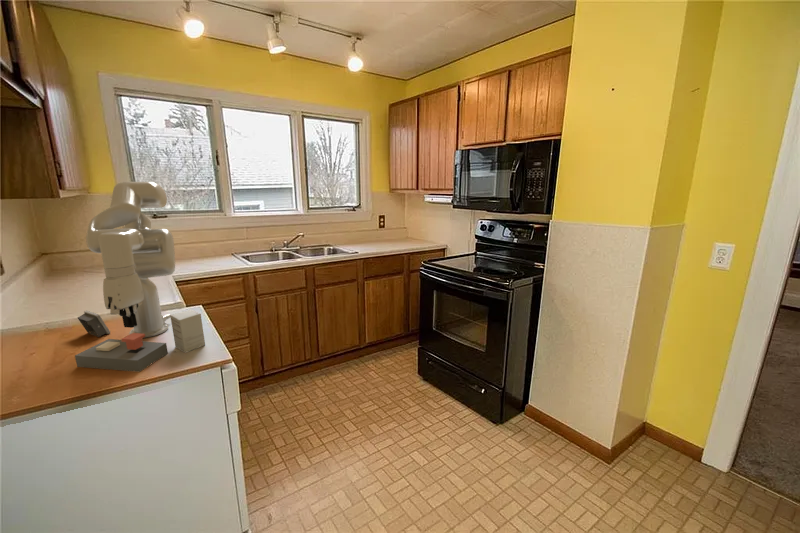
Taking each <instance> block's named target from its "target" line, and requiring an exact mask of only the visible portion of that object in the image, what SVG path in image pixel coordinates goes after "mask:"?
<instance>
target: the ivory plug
mask: <svg viewBox="0 0 800 533" xmlns="http://www.w3.org/2000/svg"><path fill="white" fill-rule="evenodd" d="M119 345H120V342H109V341H108V342H106V343H104V344H102V345H100V346H98V347H96V350H99V351H110V350H112V349H114V348H116V347H117V346H119Z"/></svg>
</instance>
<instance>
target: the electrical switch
mask: <svg viewBox="0 0 800 533" xmlns="http://www.w3.org/2000/svg"><path fill="white" fill-rule="evenodd" d="M77 319H78V321H79V322H80V324H81V325H82V327H83V328H84V329H85V331H86V332H87V334H90V335H92V336H95V337H98V338H100V337H102V336H103V335H105V334H106V335H109V334H111V330H110V329H109V328H108V326H107V324H106V322H105V321H104V320H103V319H102V317H101V315H100V314H99V313H95V312H94V311H93V312H92V311H91V310H90V311H89V310H84V311H83V314H82V315H79V316H78V317H77Z"/></svg>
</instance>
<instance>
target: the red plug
mask: <svg viewBox="0 0 800 533" xmlns="http://www.w3.org/2000/svg"><path fill="white" fill-rule="evenodd" d="M144 337H145V334H141V333H132V334H128V335H127V336H124V337H122V338H121V339H120V340H122V342H126V345H127V349H132V350H136V349H138V348H140V347H142V346H143V342H142V341H143V339H145V338H144Z"/></svg>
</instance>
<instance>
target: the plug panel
mask: <svg viewBox="0 0 800 533" xmlns="http://www.w3.org/2000/svg"><path fill="white" fill-rule="evenodd" d="M108 341H109V342H120V345H119V346H117V347H116V348H114V349H112V350H110V351H99V350H96V347H98V346H100V345H102V344H104V343H106V342H108ZM142 342H143V346H142V347H140V348H138V349H136V350H132V349H127V345H126V342H122V340H121V339H117V338H116V339H113V338H108V339H105V340H103V341H102V342H99V343H97V344H95V345H93V346H91V347H89V348H87V349H85V350H84V351H80V352H79V353H77V354H75V355H74V358H75V359H74V360H75V363H76V366H77V368H87V369H88V368H89V369H99V370H101V369H102V370H111V369H112V371H125V372H135V373H141V371H143V370H144V369H147V368H148V367H149V366H151V365H152V364H154V363H155V362H157V361H158V359H159V358H160V359H161V357H162V356H163V357H165V356H166V355H168V354H169V353H168V347H167V342H159V341H144V340H142ZM164 355H165V356H164ZM163 357H162V358H163ZM160 359H159V360H160ZM156 360H157V361H156ZM154 361H155V362H154ZM153 362H154V363H153ZM151 363H152V364H151ZM150 364H151V365H150ZM147 366H148V367H147Z"/></svg>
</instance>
